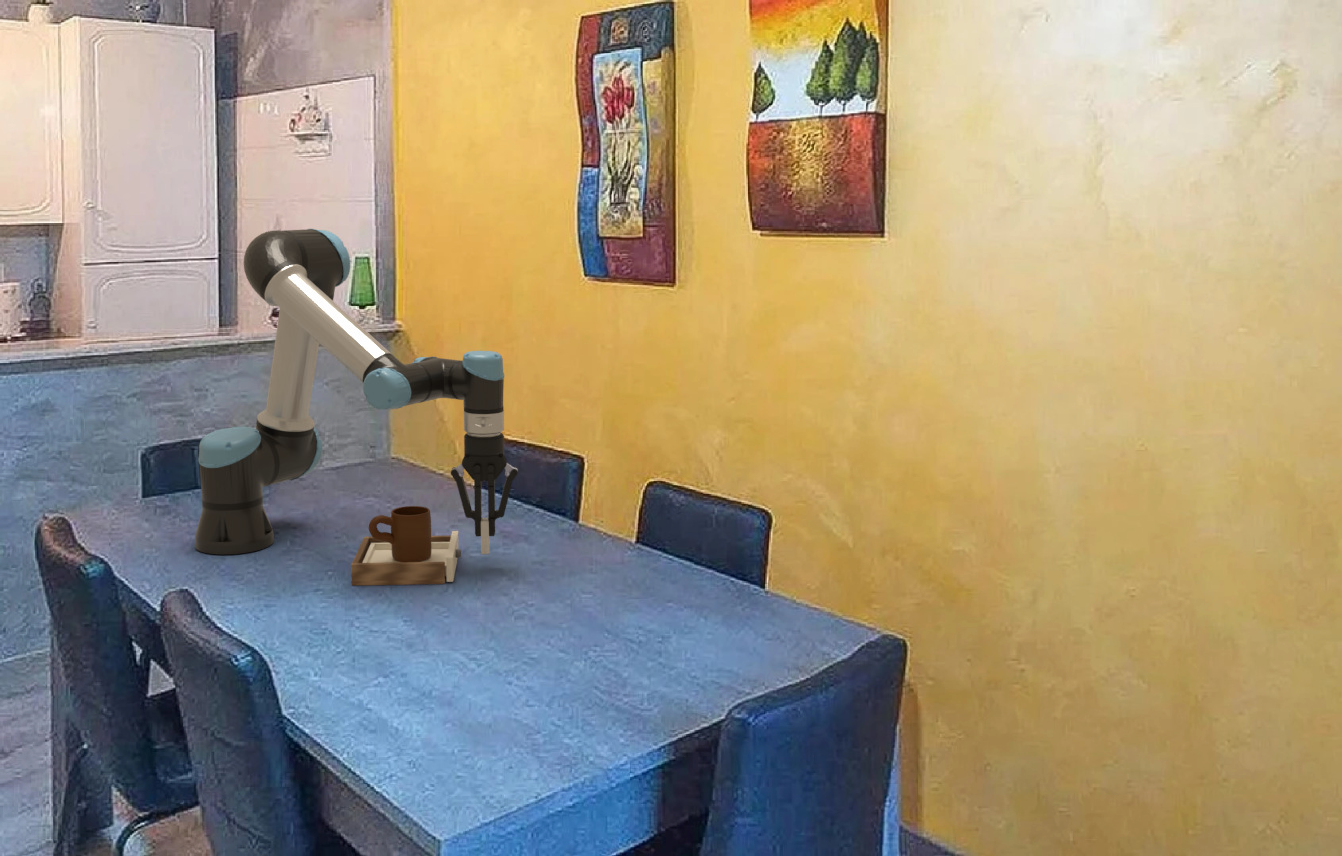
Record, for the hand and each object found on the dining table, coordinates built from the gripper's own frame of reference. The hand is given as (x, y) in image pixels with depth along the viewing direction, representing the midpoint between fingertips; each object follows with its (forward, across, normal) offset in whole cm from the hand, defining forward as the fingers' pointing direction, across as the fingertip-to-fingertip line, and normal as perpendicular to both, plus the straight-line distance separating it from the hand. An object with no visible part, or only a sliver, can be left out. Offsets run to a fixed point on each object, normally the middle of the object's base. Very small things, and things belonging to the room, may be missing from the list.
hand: (485, 551), depth 233 cm
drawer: (+3, -14, 0) cm, 14 cm away
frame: (+3, -15, 0) cm, 15 cm away
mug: (+2, -16, +1) cm, 16 cm away
